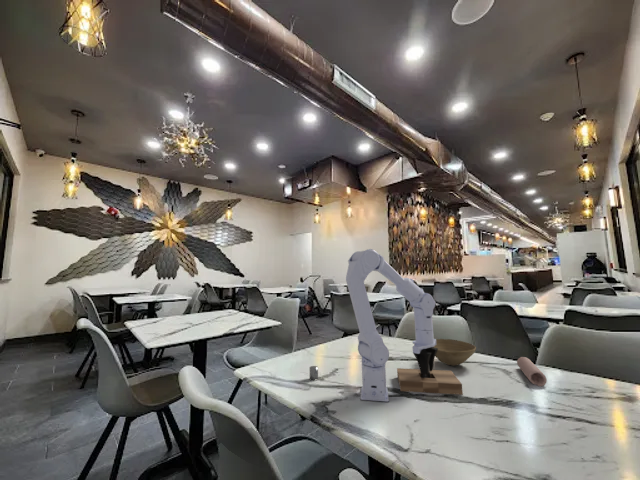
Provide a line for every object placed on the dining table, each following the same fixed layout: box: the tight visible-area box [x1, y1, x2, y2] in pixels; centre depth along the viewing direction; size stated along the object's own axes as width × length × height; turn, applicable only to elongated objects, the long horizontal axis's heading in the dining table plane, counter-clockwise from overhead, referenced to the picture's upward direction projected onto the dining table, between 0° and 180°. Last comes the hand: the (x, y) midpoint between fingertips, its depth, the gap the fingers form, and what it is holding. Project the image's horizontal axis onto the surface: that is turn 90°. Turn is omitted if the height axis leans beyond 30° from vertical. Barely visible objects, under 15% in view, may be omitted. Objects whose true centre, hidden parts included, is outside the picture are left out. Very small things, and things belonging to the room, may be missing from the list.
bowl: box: [434, 338, 477, 367], centre depth 112 cm, size 18×18×8 cm
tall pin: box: [420, 369, 430, 378], centre depth 92 cm, size 3×3×8 cm
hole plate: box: [396, 367, 463, 395], centre depth 91 cm, size 12×18×3 cm, turn 79°
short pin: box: [309, 365, 319, 381], centre depth 99 cm, size 3×3×4 cm
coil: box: [516, 356, 548, 387], centre depth 97 cm, size 5×5×18 cm
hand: (426, 371), depth 92 cm, fingers closed on tall pin, 3 cm apart
